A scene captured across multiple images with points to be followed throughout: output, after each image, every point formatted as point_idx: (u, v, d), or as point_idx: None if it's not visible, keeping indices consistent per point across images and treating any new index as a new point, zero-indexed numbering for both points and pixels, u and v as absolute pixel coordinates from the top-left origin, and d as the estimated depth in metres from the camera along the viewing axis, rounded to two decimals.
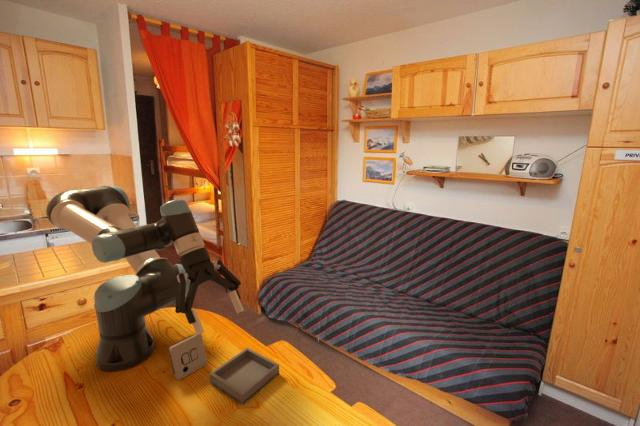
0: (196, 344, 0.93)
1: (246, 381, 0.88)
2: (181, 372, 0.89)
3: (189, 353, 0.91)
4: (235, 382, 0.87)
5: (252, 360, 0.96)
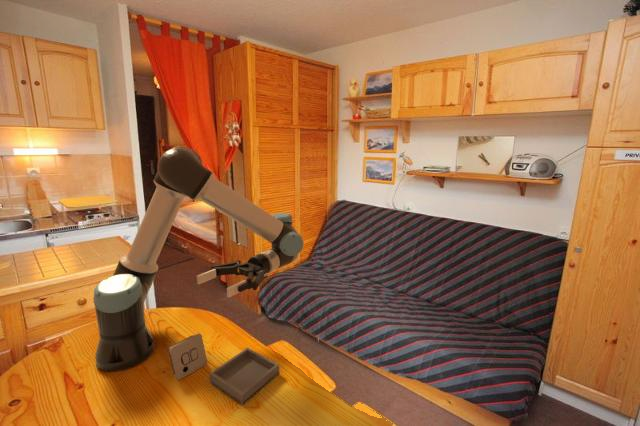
0: (196, 344, 0.93)
1: (246, 381, 0.88)
2: (181, 372, 0.89)
3: (189, 353, 0.91)
4: (235, 382, 0.87)
5: (252, 360, 0.96)
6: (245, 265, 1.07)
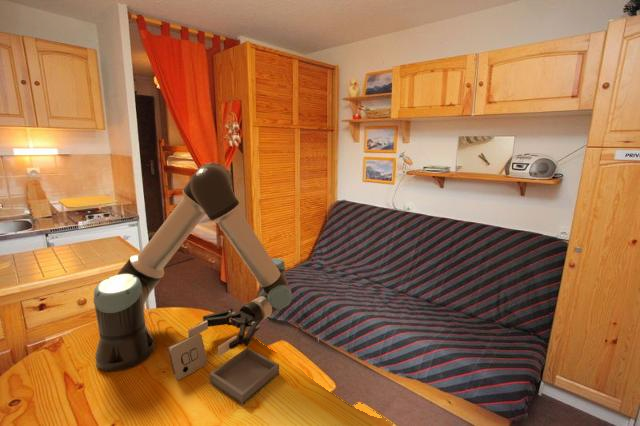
0: (196, 344, 0.93)
1: (246, 381, 0.88)
2: (181, 372, 0.89)
3: (189, 353, 0.91)
4: (235, 382, 0.87)
5: (252, 360, 0.96)
6: (237, 315, 1.07)
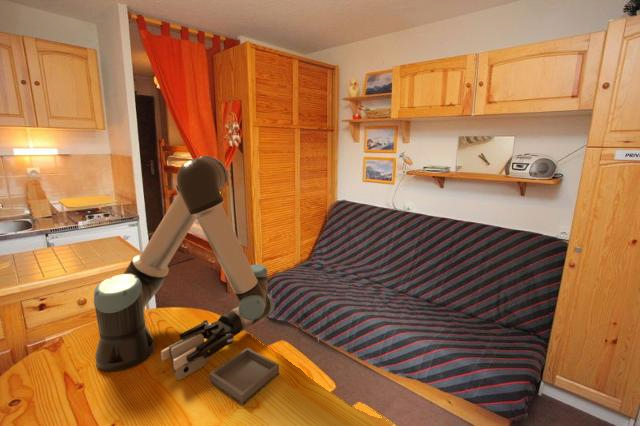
0: (197, 345, 0.93)
1: (246, 381, 0.88)
2: (182, 372, 0.89)
3: None
4: (235, 382, 0.87)
5: (252, 360, 0.96)
6: (215, 326, 1.01)
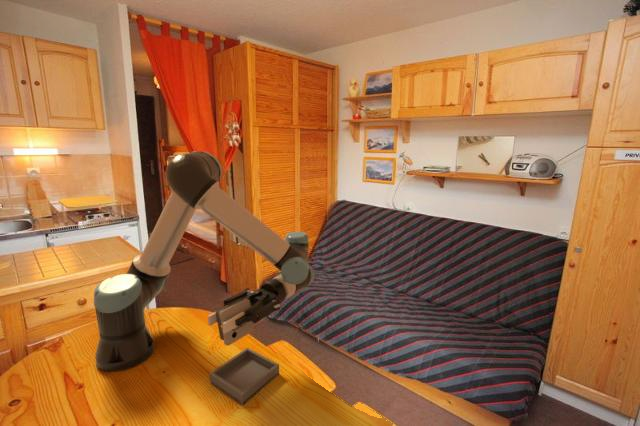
0: (244, 310, 0.88)
1: (246, 381, 0.88)
2: (230, 337, 0.84)
3: None
4: (235, 382, 0.87)
5: (252, 360, 0.96)
6: (259, 293, 0.96)
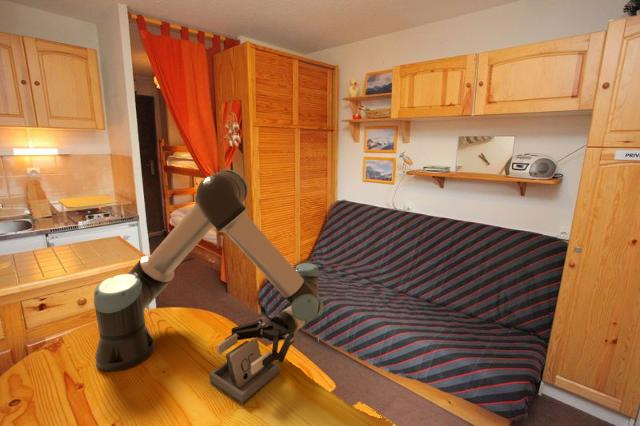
0: (253, 350, 0.90)
1: None
2: (242, 379, 0.86)
3: (248, 359, 0.88)
4: None
5: None
6: (269, 327, 0.97)
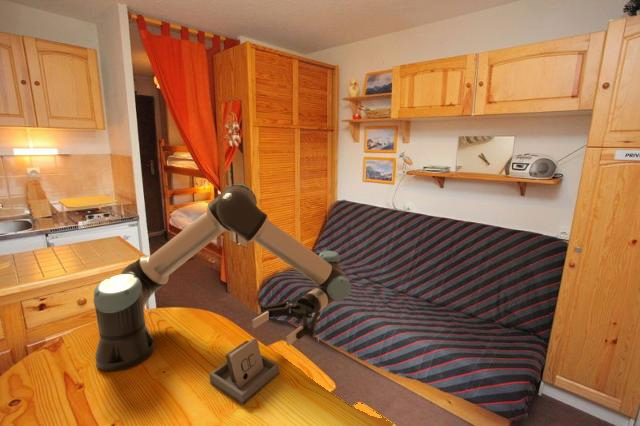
0: (253, 350, 0.90)
1: None
2: (242, 379, 0.86)
3: (248, 359, 0.88)
4: None
5: None
6: (296, 306, 1.07)
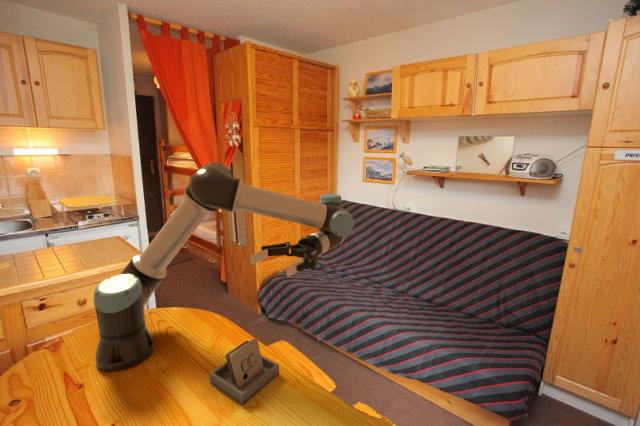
0: (253, 350, 0.90)
1: None
2: (242, 379, 0.86)
3: (248, 359, 0.88)
4: None
5: None
6: (297, 246, 1.02)
